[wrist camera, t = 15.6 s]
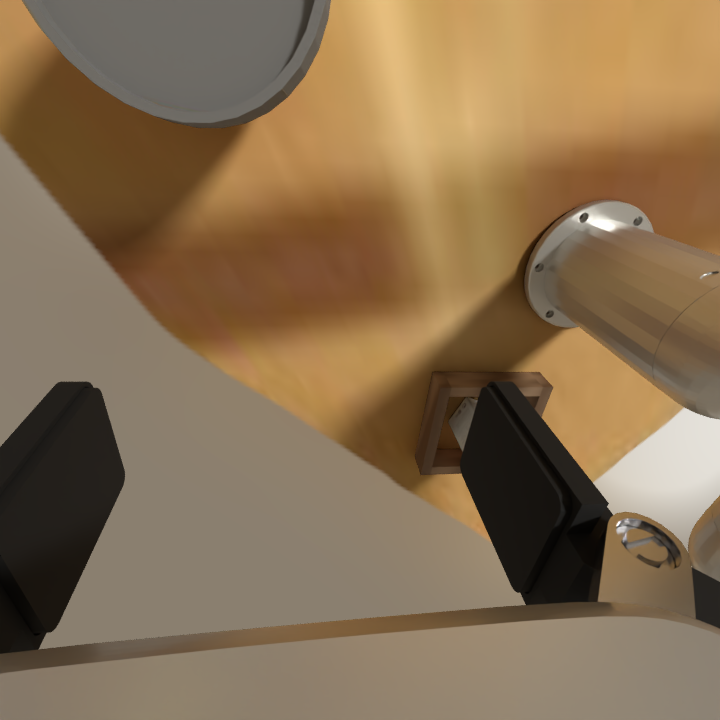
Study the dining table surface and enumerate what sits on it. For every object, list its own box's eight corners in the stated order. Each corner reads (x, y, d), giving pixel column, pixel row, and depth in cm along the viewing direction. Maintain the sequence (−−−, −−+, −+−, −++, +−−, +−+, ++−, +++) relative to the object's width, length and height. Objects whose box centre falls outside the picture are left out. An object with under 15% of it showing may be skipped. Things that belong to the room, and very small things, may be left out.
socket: (539, 372, 47) (553, 387, 44) (509, 454, 54) (519, 471, 51) (432, 371, 45) (440, 387, 43) (414, 456, 52) (420, 474, 49)
